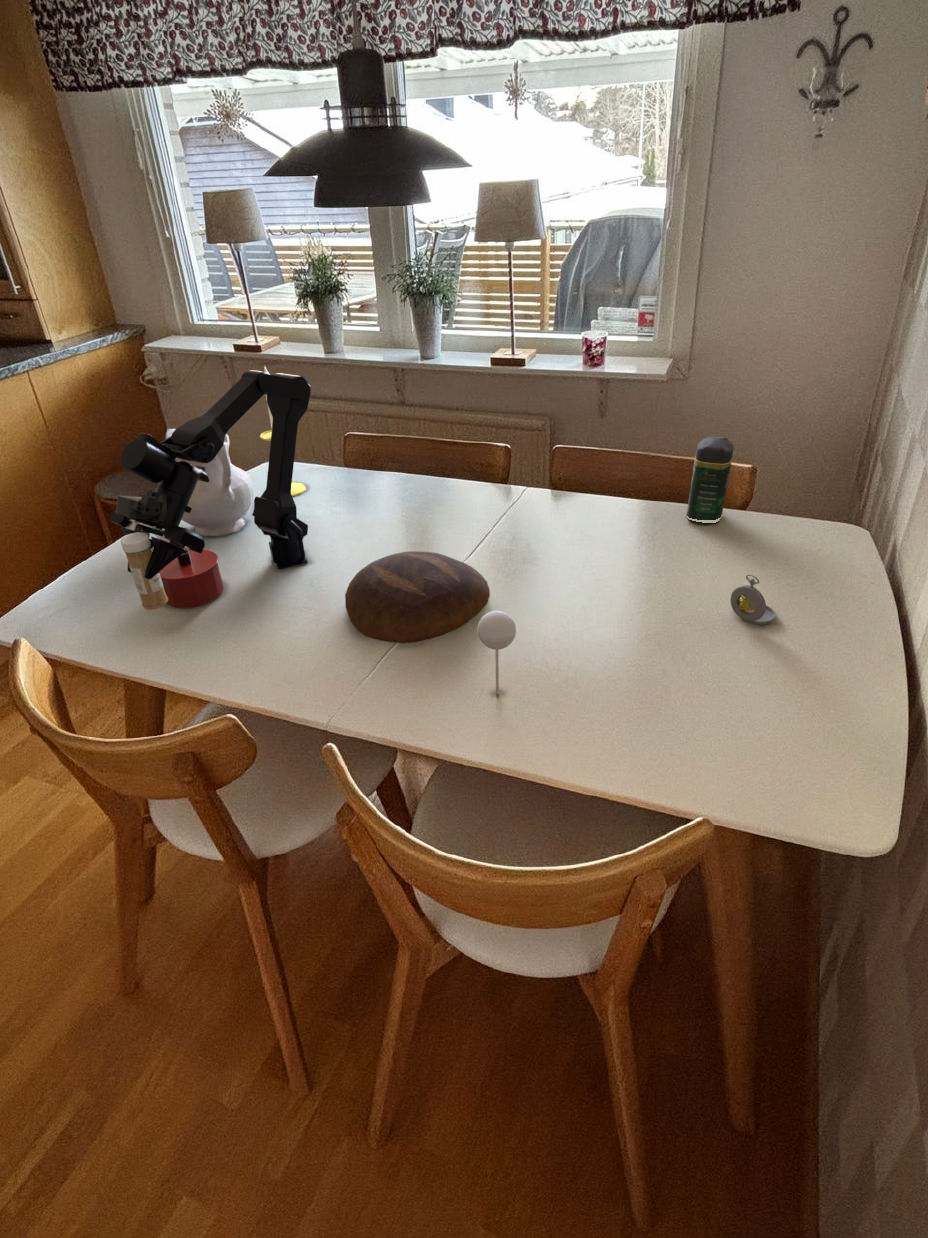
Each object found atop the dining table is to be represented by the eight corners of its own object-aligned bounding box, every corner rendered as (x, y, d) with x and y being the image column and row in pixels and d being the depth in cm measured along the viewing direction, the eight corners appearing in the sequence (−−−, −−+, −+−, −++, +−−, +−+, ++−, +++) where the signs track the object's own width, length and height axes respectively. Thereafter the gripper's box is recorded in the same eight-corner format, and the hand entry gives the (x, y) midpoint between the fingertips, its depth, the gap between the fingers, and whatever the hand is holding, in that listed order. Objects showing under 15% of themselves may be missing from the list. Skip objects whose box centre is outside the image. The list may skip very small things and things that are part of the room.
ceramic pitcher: (282, 526, 175) (270, 423, 164) (219, 553, 161) (200, 442, 149) (222, 510, 186) (205, 412, 174) (157, 533, 171) (135, 428, 159)
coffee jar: (719, 528, 163) (733, 449, 153) (683, 524, 166) (694, 445, 156) (723, 512, 171) (736, 435, 161) (689, 507, 173) (700, 432, 163)
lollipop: (477, 682, 118) (474, 604, 110) (512, 680, 118) (512, 601, 110) (481, 706, 113) (478, 626, 105) (518, 703, 113) (518, 623, 105)
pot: (210, 573, 154) (203, 546, 150) (232, 594, 146) (226, 566, 143) (155, 592, 148) (146, 564, 144) (175, 614, 140) (167, 586, 136)
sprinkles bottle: (171, 605, 130) (150, 538, 122) (144, 613, 128) (122, 545, 121) (165, 594, 133) (145, 528, 126) (140, 602, 131) (117, 535, 124)
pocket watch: (774, 609, 134) (785, 562, 128) (775, 634, 127) (786, 584, 122) (727, 603, 136) (736, 556, 131) (726, 627, 129) (735, 578, 124)
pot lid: (205, 547, 151) (201, 532, 149) (229, 568, 143) (225, 553, 141) (144, 567, 145) (139, 551, 143) (166, 590, 136) (161, 574, 134)
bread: (425, 559, 156) (422, 522, 151) (519, 602, 139) (519, 562, 134) (315, 610, 139) (308, 570, 135) (407, 666, 123) (403, 623, 118)
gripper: (102, 465, 125) (66, 548, 123) (173, 484, 116) (135, 573, 114) (152, 491, 135) (119, 569, 133) (221, 510, 126) (187, 593, 124)
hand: (138, 575), depth 126 cm, fingers closed on sprinkles bottle, 4 cm apart
